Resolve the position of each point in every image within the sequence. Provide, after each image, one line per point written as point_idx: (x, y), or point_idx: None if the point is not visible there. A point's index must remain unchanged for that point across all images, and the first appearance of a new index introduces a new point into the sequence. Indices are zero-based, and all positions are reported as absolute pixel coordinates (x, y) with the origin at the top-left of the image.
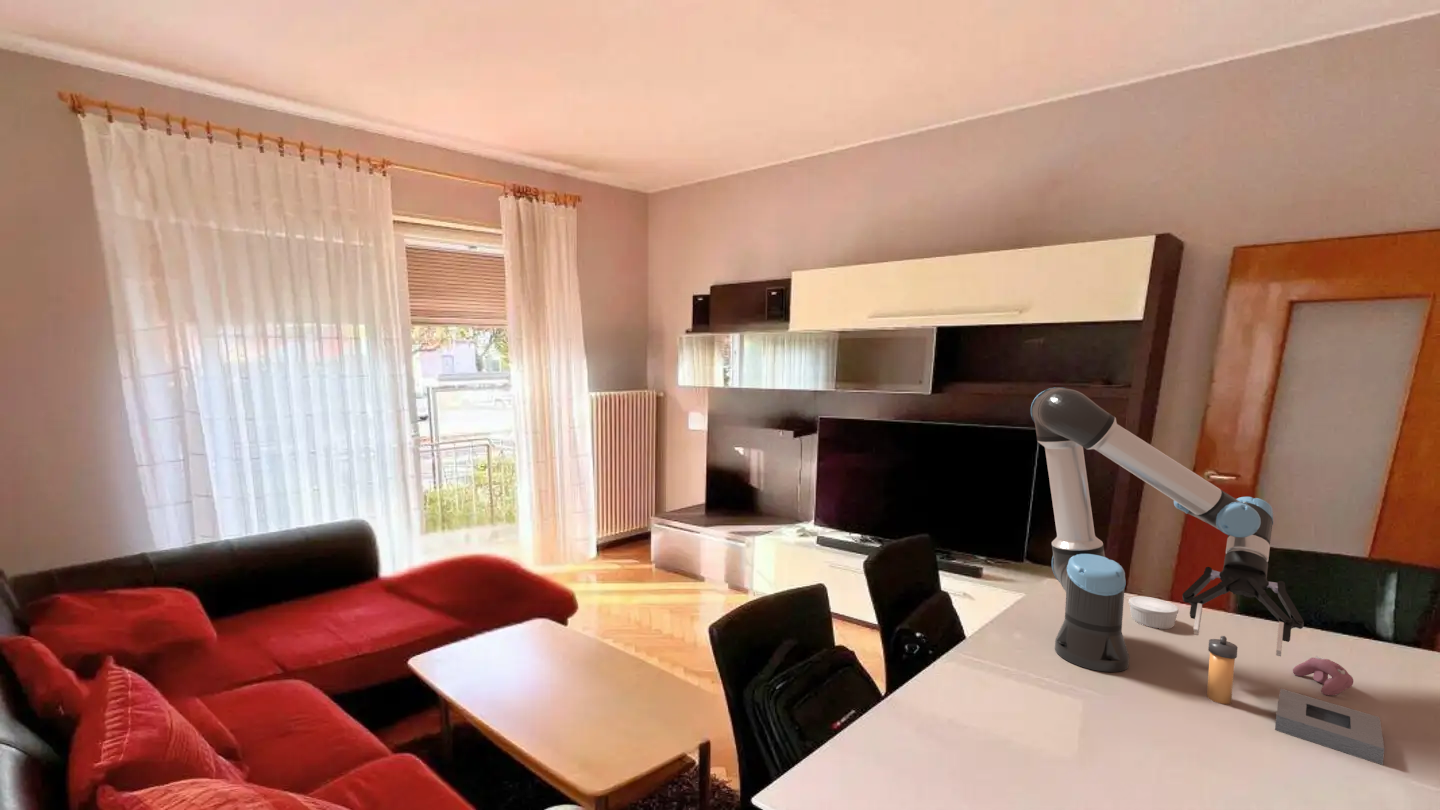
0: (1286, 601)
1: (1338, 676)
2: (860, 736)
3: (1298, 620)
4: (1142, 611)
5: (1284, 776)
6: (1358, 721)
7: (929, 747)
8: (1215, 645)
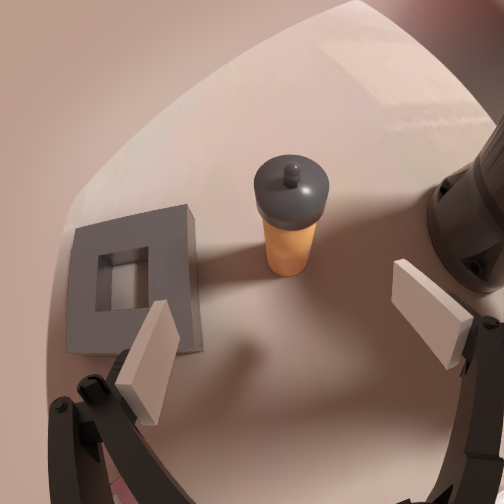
0: (71, 497)
1: (120, 487)
2: (387, 20)
3: (62, 404)
4: (502, 487)
5: (180, 122)
6: (87, 301)
7: (365, 24)
8: (300, 156)
